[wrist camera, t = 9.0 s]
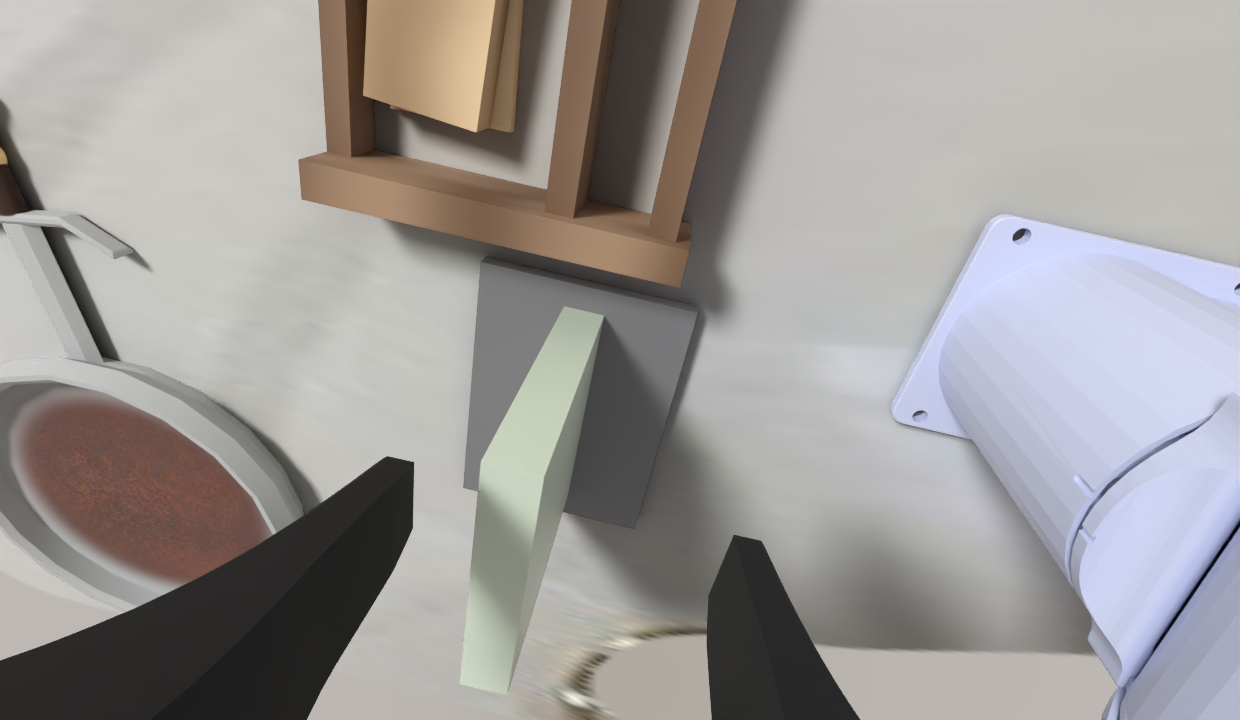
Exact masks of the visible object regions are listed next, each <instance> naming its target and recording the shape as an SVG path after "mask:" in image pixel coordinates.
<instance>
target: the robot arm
mask: <svg viewBox="0 0 1240 720" xmlns="http://www.w3.org/2000/svg"><path fill="white" fill-rule="evenodd" d="M1021 228H1025V233H1024V235H1023V237H1022V238H1021V239H1019V240H1017V241H1013V240H1012V238H1013V234H1014V233H1015V232H1016V231H1017V230H1019V229H1021ZM1239 283H1240V267H1236V266H1232V265H1227V264H1223V263H1219V262H1214V261H1210V260H1206V259H1201V258H1197V257H1193V256H1188V255H1184V254H1180V253H1175V252H1171V251H1167V250H1162V249H1158V248H1154V247H1149V246H1145V245H1140V244H1136V243H1132V242H1127V241H1123V240H1119V239H1114V238H1110V237H1106V236H1101V235H1097V234H1093V233H1088V232H1084V231H1080V230H1075V229H1071V228H1067V227H1062V226H1058V225H1054V224H1049V223H1045V222H1041V221H1036V220H1032V219H1027V218H1023V217H1019V216H1014V215H1010V214H1001V215H998V216H996V217H994V218H993V219H991V220H990V221H989V222H988V223H987V225H986V226H985V228H984V230H983V232H982V234H981V235H980V237H979V239H978V241H977V243H976V245H975V247H974V249H973V251H972V253H971V254H970V256H969V258H968V260H967V262H966V264H965V266H964V268H963V270H962V271H961V273H960V275H959V277H958V279H957V281H956V283H955V285H954V287H953V288H952V290H951V292H950V294H949V296H948V298H947V300H946V302H945V304H944V306H943V307H942V309H941V311H940V313H939V315H938V317H937V319H936V321H935V323H934V324H933V326H932V328H931V330H930V332H929V334H928V336H927V338H926V340H925V342H924V343H923V345H922V347H921V349H920V351H919V353H918V355H917V357H916V359H915V360H914V362H913V364H912V366H911V368H910V370H909V372H908V374H907V376H906V378H905V379H904V381H903V383H902V385H901V387H900V389H899V391H898V393H897V395H896V396H895V398H894V400H893V402H892V404H891V407H890V412H891V415H892V417H893V418H894V419H895V420H896V421H897V422H899V423H902V424H907V425H911V426H915V427H919V428H923V429H928V430H932V431H936V432H940V433H945V434H949V435H953V436H957V437H961V438H966V439H970V440H973V442H974V443H975V445H976V446H977V448H978V449H979V451H980V452H981V454H982V455H983V456H984V458H985V459H986V461H987V462H988V464H989V465H990V467H991V468H992V470H993V471H994V473H995V474H996V476H997V477H998V479H999V480H1000V481H1001V483H1002V484H1003V486H1004V487H1005V489H1006V490H1007V492H1008V493H1009V495H1010V496H1011V498H1012V499H1013V501H1014V502H1015V503H1016V505H1017V506H1018V508H1019V509H1020V511H1021V512H1022V514H1023V515H1024V517H1025V518H1026V520H1027V521H1028V523H1029V524H1030V525H1031V527H1032V528H1033V530H1034V531H1035V533H1036V534H1037V536H1038V537H1039V539H1040V540H1041V542H1042V543H1043V545H1044V546H1045V548H1046V549H1047V550H1048V552H1049V553H1050V555H1051V556H1052V558H1053V559H1054V561H1055V562H1056V564H1057V565H1058V567H1059V568H1060V570H1061V571H1062V572H1063V574H1064V575H1065V577H1066V578H1067V580H1068V581H1069V583H1070V584H1071V586H1072V587H1073V589H1074V590H1075V592H1076V593H1077V595H1078V596H1079V597H1080V599H1081V600H1082V602H1083V603H1084V605H1085V606H1086V608H1087V610H1088V611H1089V613H1090V615H1091V620H1092V628H1091V631H1090V634H1089V636H1088V642H1089V643H1090V645H1091V646H1092V648H1093V649H1094V651H1095V652H1096V654H1097V655H1098V657H1099V659H1100V660H1101V662H1102V663H1103V665H1104V666H1105V668H1106V669H1107V671H1108V672H1109V674H1110V676H1111V677H1112V679H1113V680H1114V682H1115V683H1116V685H1117V686H1118V687H1119V688H1118V689H1117V690H1116V691H1115V692H1114V694H1113V696H1112V697H1111V699H1110V700H1109V702H1108V704H1107V706H1106V708H1105V710H1104V712H1103V714H1102V720H1240V288H1239V289H1237V290H1235V287H1236V286H1237V285H1238V284H1239ZM919 410H923V411H924V412H923V413H922V414H921V415H919V416H913V414H914V413H915V412H917V411H919ZM413 488H414V462H410V461H406V460H401V459H397V458H392V457H388V456H387V457H385V458H383V459H382V460H380V461H379V462H378V463H376V464H375V465H373V466H372V467H371V468H369V469H368V470H367V471H365V472H364V473H363V474H361V475H360V476H359V477H357V478H356V479H354V480H353V481H352V482H350V483H349V484H348V485H346V486H345V487H343V488H342V489H341V490H339V491H338V492H336V493H335V494H334V495H332V496H331V497H329V498H328V499H326V500H325V501H324V502H322V503H321V504H319V505H318V506H316V507H315V508H313V509H312V510H310V511H309V512H308V513H306V514H305V515H303V516H302V517H300V518H299V519H297V520H296V521H294V522H293V523H291V524H290V525H288V526H286V527H285V528H283V529H282V530H280V531H278V532H277V533H275V534H274V535H272V536H270V537H269V538H267V539H266V540H264V541H262V542H261V543H259V544H258V545H256V546H254V547H253V548H251V549H249V550H247V551H246V552H244V553H242V554H241V555H239V556H237V557H235V558H234V559H232V560H230V561H228V562H227V563H225V564H223V565H221V566H219V567H217V568H215V569H214V570H212V571H210V572H208V573H206V574H204V575H202V576H200V577H199V578H197V579H195V580H193V581H191V582H189V583H187V584H184V585H182V586H180V587H178V588H176V589H174V590H172V591H170V592H168V593H166V594H164V595H162V596H160V597H157V598H155V599H153V600H151V601H149V602H147V603H145V604H143V605H140V606H138V607H136V608H134V609H132V610H129V611H127V612H125V613H123V614H120V615H118V616H115V617H113V618H111V619H108V620H106V621H104V622H101V623H99V624H96V625H94V626H92V627H89V628H87V629H84V630H82V631H79V632H77V633H74V634H72V635H69V636H67V637H64V638H61V639H59V640H56V641H54V642H51V643H48V644H46V645H43V646H40V647H38V648H35V649H32V650H29V651H26V652H24V653H21V654H18V655H15V656H12V657H9V658H7V659H4V660H1V661H0V720H307V718H308V716H309V714H310V712H311V710H312V708H313V706H314V704H315V702H316V700H317V698H318V696H319V694H320V692H321V690H322V688H323V686H324V684H325V683H326V681H327V679H328V677H329V676H330V674H331V672H332V670H333V669H334V667H335V665H336V663H337V662H338V660H339V659H340V657H341V655H342V654H343V652H344V650H345V649H346V647H347V646H348V644H349V642H350V641H351V639H352V637H353V636H354V634H355V633H356V631H357V629H358V628H359V626H360V624H361V623H362V621H363V620H364V618H365V616H366V615H367V613H368V611H369V610H370V608H371V607H372V605H373V603H374V602H375V600H376V598H377V597H378V595H379V593H380V592H381V590H382V589H383V587H384V585H385V584H386V582H387V580H388V579H389V577H390V575H391V574H392V572H393V570H394V568H395V566H396V564H397V562H398V559H399V557H400V555H401V553H402V551H403V549H404V547H405V544H406V542H407V540H408V538H409V535H410V533H411V531H412V529H413ZM707 656H708V670H709V686H710V700H711V713H712V720H860V719H859V717H858V716H857V715H856V713H855V711H854V710H853V708H852V707H851V705H850V704H849V703H848V701H847V699H846V698H845V696H844V695H843V693H842V691H841V690H840V688H839V687H838V685H837V683H836V682H835V680H834V679H833V677H832V675H831V674H830V672H829V671H828V669H827V667H826V665H825V664H824V662H823V660H822V658H821V657H820V655H819V653H818V651H817V650H816V648H815V646H814V644H813V643H812V641H811V639H810V637H809V635H808V633H807V632H806V630H805V628H804V626H803V624H802V622H801V620H800V618H799V617H798V615H797V613H796V611H795V609H794V607H793V605H792V603H791V601H790V599H789V597H788V595H787V593H786V591H785V589H784V587H783V585H782V583H781V581H780V579H779V577H778V574H777V572H776V570H775V568H774V566H773V564H772V562H771V560H770V557H769V555H768V553H767V551H766V549H765V547H764V545H763V543H762V542H761V541H759V540H755V539H750V538H746V537H741V536H737V535H734V536H733V538H732V541H731V543H730V546H729V548H728V550H727V553H726V555H725V558H724V560H723V562H722V565H721V567H720V570H719V572H718V574H717V577H716V579H715V582H714V584H713V586H712V589H711V591H710V594H709V600H708V619H707Z"/></svg>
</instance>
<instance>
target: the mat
mask: <svg viewBox="0 0 1240 720" xmlns="http://www.w3.org/2000/svg"><path fill="white" fill-rule="evenodd" d="M564 306H566V307H570V308H574V309H578V310H582V311H587V312H591V313H595V314H599V315H604V318H603V323H602V328H601V333H600V338H599V343H598V348H597V353H596V358H595V363H594V368H593V373H592V378H591V383H590V388H589V393H588V398H587V403H586V408H585V413H584V418H583V423H582V428H581V432H580V437H579V442H578V447H577V452H576V457H575V462H574V467H573V472H572V477H571V482H570V487H569V492H568V496H567V500H566V503H565V506H564V510H563V512H566V513H570V514H574V515H578V516H582V517H586V518H591V519H595V520H599V521H603V522H607V523H611V524H615V525H620V526H624V527H628V528H632V529H635V526H636V523H637V519H638V516H639V513H640V509H641V506H642V502H643V499H644V496H645V492H646V489H647V485H648V482H649V478H650V475H651V472H652V468H653V465H654V461H655V458H656V455H657V451H658V448H659V444H660V441H661V437H662V434H663V431H664V427H665V424H666V420H667V417H668V414H669V410H670V407H671V403H672V400H673V396H674V393H675V390H676V386H677V383H678V379H679V376H680V373H681V369H682V366H683V362H684V359H685V355H686V352H687V349H688V345H689V342H690V338H691V335H692V332H693V328H694V325H695V321H696V318H697V314H698V306H695V305H690V304H686V303H682V302H678V301H673V300H669V299H665V298H660V297H656V296H652V295H648V294H643V293H639V292H635V291H631V290H626V289H622V288H618V287H614V286H609V285H605V284H601V283H597V282H592V281H588V280H584V279H580V278H575V277H571V276H567V275H563V274H558V273H554V272H550V271H546V270H541V269H537V268H533V267H528V266H524V265H520V264H516V263H511V262H507V261H503V260H499V259H494V258H490V257H485V258H484V259H483V260H482V261H481V265H480V278H479V291H478V304H477V317H476V330H475V343H474V356H473V369H472V382H471V395H470V408H469V421H468V433H467V446H466V459H465V472H464V485H463V488H467V489H471V490H475V491H478V486H479V476H480V465H481V460H482V458H483V457H484V455H485V453H486V451H487V449H488V447H489V445H490V443H491V442H492V440H493V438H494V436H495V434H496V432H497V430H498V429H499V427H500V425H501V423H502V421H503V419H504V417H505V416H506V414H507V412H508V410H509V408H510V406H511V404H512V403H513V401H514V399H515V397H516V395H517V393H518V391H519V390H520V388H521V386H522V384H523V382H524V380H525V378H526V377H527V375H528V373H529V371H530V369H531V367H532V365H533V363H534V362H535V360H536V358H537V356H538V354H539V352H540V350H541V349H542V347H543V345H544V343H545V341H546V339H547V337H548V336H549V334H550V332H551V330H552V328H553V326H554V324H555V323H556V321H557V319H558V317H559V315H560V313H561V311H562V310H563V308H564Z"/></svg>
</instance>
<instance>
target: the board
mask: <svg viewBox="0 0 1240 720" xmlns="http://www.w3.org/2000/svg"><path fill="white" fill-rule="evenodd" d="M603 318H604V315H599V314H595V313H591V312H587V311H582V310H578V309H574V308H570V307H566V306H564V308H563V310H562V311H561V313H560V315H559V317H558V319H557V321H556V323H555V324H554V326H553V328H552V330H551V332H550V334H549V336H548V337H547V339H546V341H545V343H544V345H543V347H542V349H541V350H540V352H539V354H538V356H537V358H536V360H535V362H534V363H533V365H532V367H531V369H530V371H529V373H528V375H527V377H526V378H525V380H524V382H523V384H522V386H521V388H520V390H519V391H518V393H517V395H516V397H515V399H514V401H513V403H512V404H511V406H510V408H509V410H508V412H507V414H506V416H505V417H504V419H503V421H502V423H501V425H500V427H499V429H498V430H497V432H496V434H495V436H494V438H493V440H492V442H491V443H490V445H489V447H488V449H487V451H486V453H485V455H484V457H483V458H482V460H481V465H480V476H479V486H478V497H477V508H476V518H475V529H474V539H473V550H472V560H471V571H470V581H469V592H468V602H467V613H466V623H465V634H464V644H463V655H462V666H461V676H460V684H462V685H466V686H470V687H474V688H478V689H482V690H486V691H491V692H495V693H499V694H503V695H507V694H508V691H509V688H510V684H511V681H512V678H513V674H514V671H515V668H516V665H517V661H518V658H519V655H520V651H521V648H522V645H523V641H524V638H525V635H526V632H527V628H528V625H529V622H530V618H531V615H532V612H533V608H534V605H535V602H536V599H537V595H538V592H539V589H540V585H541V582H542V579H543V575H544V572H545V569H546V566H547V562H548V559H549V556H550V552H551V549H552V546H553V543H554V539H555V536H556V533H557V529H558V526H559V523H560V519H561V516H562V513H563V510H564V506H565V503H566V500H567V496H568V492H569V487H570V482H571V477H572V472H573V467H574V462H575V457H576V452H577V447H578V442H579V437H580V432H581V428H582V423H583V418H584V413H585V408H586V403H587V398H588V393H589V388H590V383H591V378H592V373H593V368H594V363H595V358H596V353H597V348H598V343H599V338H600V333H601V328H602V323H603Z"/></svg>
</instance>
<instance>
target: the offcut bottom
mask: <svg viewBox="0 0 1240 720" xmlns="http://www.w3.org/2000/svg"><path fill="white" fill-rule="evenodd" d="M523 3H524V0H510V1H509V7H508V14H507V20H506V27H505V33H504V40H503V46H502V53H501V59H500V66H499V72H498V79H497V85H496V92H495V98H494V105H493V111H492V118H491V124H490V129H494V130H499V131H504V132H509V133H510V132H513V131H514V127H515V114H516V100H517V86H518V72H519V58H520V44H521V30H522V16H523ZM390 108H391V109H396V110H401V111H406V112H411V113H415V112H412V111H409V110H406V109H403V108H400V107H397V106H394V105H391V104H390ZM416 114H418V113H416Z"/></svg>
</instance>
